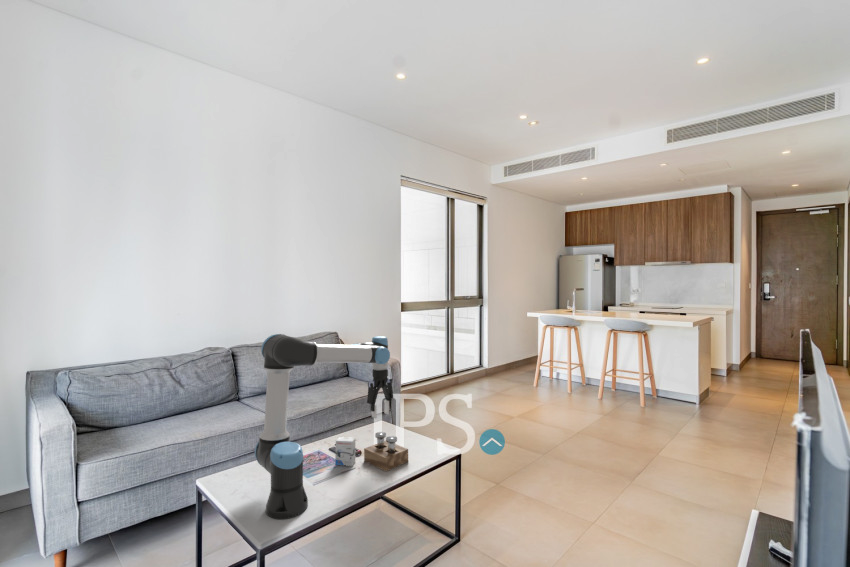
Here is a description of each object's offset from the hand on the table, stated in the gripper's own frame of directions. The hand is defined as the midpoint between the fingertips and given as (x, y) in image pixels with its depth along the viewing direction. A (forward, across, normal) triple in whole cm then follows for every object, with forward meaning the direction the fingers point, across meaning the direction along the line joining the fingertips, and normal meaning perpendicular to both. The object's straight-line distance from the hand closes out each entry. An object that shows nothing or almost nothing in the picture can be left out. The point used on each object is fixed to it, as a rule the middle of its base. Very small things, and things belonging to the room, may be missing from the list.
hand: (380, 415), depth 203 cm
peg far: (+16, 0, 0) cm, 16 cm away
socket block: (+21, 0, -4) cm, 21 cm away
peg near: (+16, 0, -8) cm, 18 cm away
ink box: (+21, -15, +8) cm, 27 cm away
